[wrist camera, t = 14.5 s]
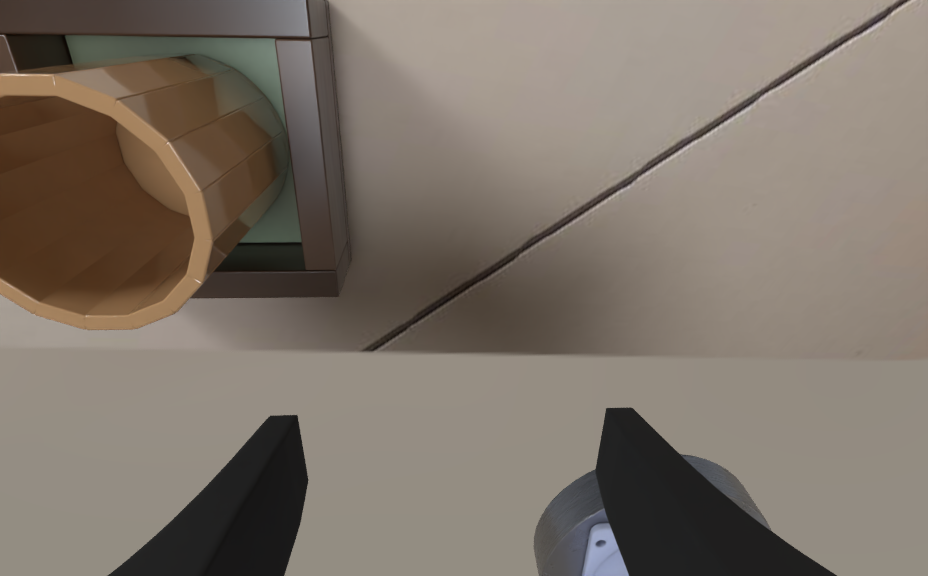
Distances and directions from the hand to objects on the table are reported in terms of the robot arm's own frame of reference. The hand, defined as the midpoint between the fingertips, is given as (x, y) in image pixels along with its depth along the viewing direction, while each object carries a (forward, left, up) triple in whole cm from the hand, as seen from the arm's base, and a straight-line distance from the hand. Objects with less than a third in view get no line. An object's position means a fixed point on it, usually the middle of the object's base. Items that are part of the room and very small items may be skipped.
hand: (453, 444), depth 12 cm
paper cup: (+5, +8, -9) cm, 13 cm away
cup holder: (+5, +8, -9) cm, 13 cm away
